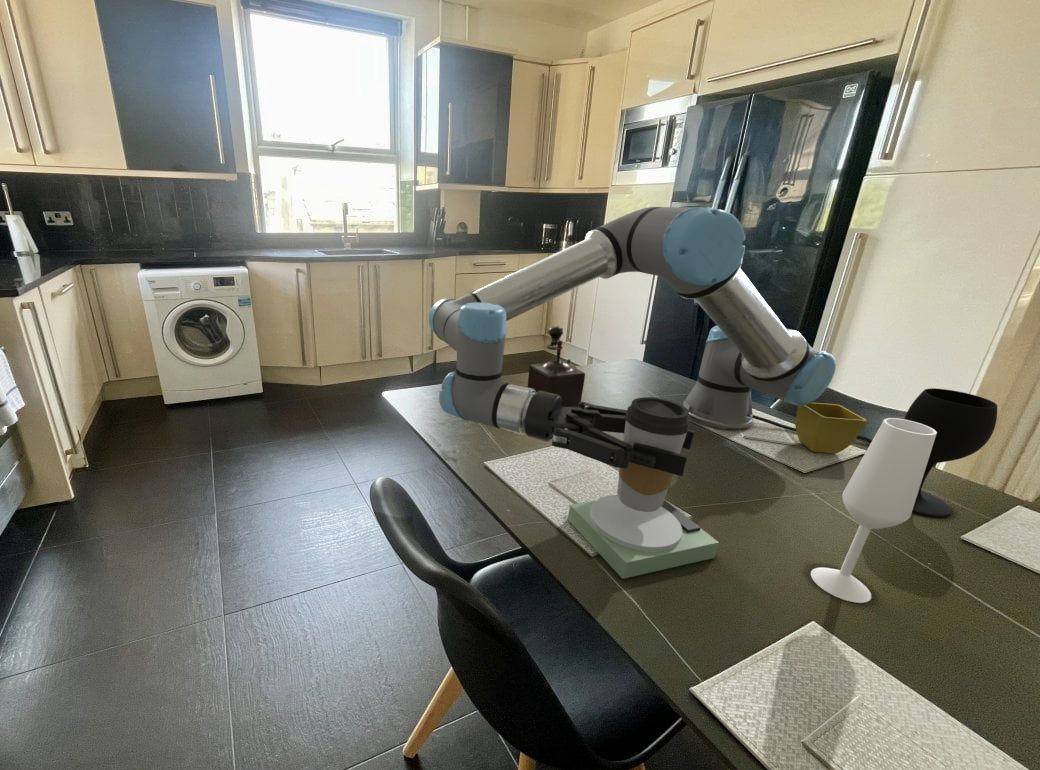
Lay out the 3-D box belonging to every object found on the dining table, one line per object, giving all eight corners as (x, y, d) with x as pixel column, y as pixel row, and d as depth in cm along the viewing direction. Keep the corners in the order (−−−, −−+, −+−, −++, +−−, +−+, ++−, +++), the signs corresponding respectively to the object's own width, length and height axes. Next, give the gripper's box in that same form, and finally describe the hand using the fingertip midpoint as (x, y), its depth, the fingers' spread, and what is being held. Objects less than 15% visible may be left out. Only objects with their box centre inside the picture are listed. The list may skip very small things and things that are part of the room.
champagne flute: (853, 608, 62) (930, 442, 53) (799, 574, 68) (861, 419, 59) (882, 594, 65) (960, 433, 56) (828, 562, 71) (891, 411, 62)
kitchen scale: (648, 504, 83) (653, 486, 82) (714, 557, 71) (720, 537, 69) (567, 519, 78) (570, 499, 77) (622, 579, 66) (627, 557, 65)
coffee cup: (667, 492, 74) (689, 401, 68) (672, 522, 67) (697, 424, 61) (610, 481, 76) (627, 392, 71) (609, 509, 69) (628, 413, 63)
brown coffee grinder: (583, 408, 122) (594, 338, 116) (545, 412, 119) (554, 341, 112) (551, 387, 136) (559, 324, 129) (516, 390, 132) (522, 325, 126)
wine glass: (935, 493, 90) (984, 393, 82) (963, 524, 81) (1021, 415, 73) (865, 479, 93) (906, 382, 86) (885, 507, 85) (932, 402, 77)
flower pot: (826, 440, 109) (840, 404, 106) (853, 459, 101) (868, 420, 98) (785, 437, 110) (797, 401, 107) (808, 456, 102) (822, 417, 99)
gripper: (550, 413, 86) (690, 447, 76) (501, 460, 69) (672, 513, 59) (556, 373, 83) (701, 403, 73) (506, 412, 67) (686, 459, 56)
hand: (688, 452), depth 66 cm, fingers closed on coffee cup, 8 cm apart
